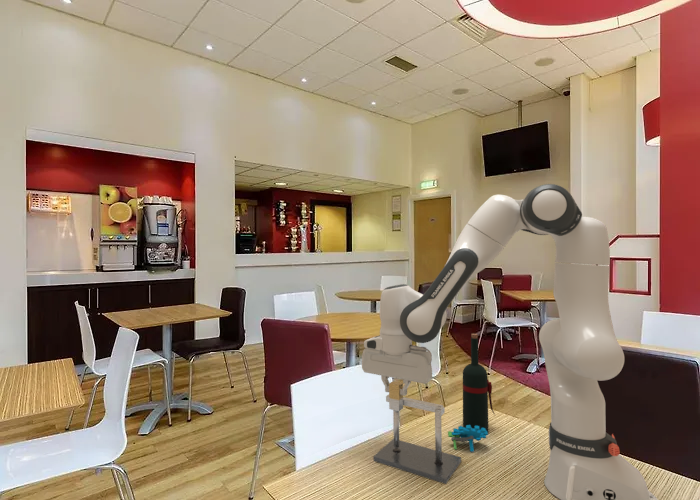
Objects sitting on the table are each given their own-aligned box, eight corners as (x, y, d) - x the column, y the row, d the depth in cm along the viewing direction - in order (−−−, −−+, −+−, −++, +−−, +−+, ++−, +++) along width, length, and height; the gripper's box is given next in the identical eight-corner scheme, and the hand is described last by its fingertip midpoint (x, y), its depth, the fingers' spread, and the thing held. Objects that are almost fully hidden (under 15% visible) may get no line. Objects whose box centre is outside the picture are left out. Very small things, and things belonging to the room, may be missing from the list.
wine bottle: (499, 435, 120) (498, 336, 120) (466, 435, 120) (465, 336, 120) (490, 424, 127) (489, 331, 128) (459, 424, 128) (458, 331, 128)
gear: (488, 436, 116) (486, 421, 109) (491, 457, 111) (490, 444, 105) (449, 437, 118) (445, 423, 112) (451, 458, 114) (447, 445, 108)
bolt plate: (461, 461, 105) (460, 457, 105) (445, 484, 94) (445, 478, 94) (393, 442, 115) (393, 438, 115) (373, 460, 105) (373, 456, 105)
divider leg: (403, 448, 108) (402, 383, 109) (399, 451, 106) (399, 385, 107) (393, 445, 110) (393, 381, 110) (389, 448, 108) (389, 383, 108)
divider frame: (446, 458, 104) (445, 405, 104) (440, 465, 101) (440, 411, 101) (389, 442, 113) (389, 394, 113) (382, 448, 110) (382, 398, 110)
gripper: (435, 345, 106) (436, 397, 105) (369, 337, 117) (370, 383, 117) (427, 350, 100) (427, 404, 100) (358, 341, 111) (359, 389, 111)
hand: (396, 393), depth 108 cm, fingers closed on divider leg, 3 cm apart
